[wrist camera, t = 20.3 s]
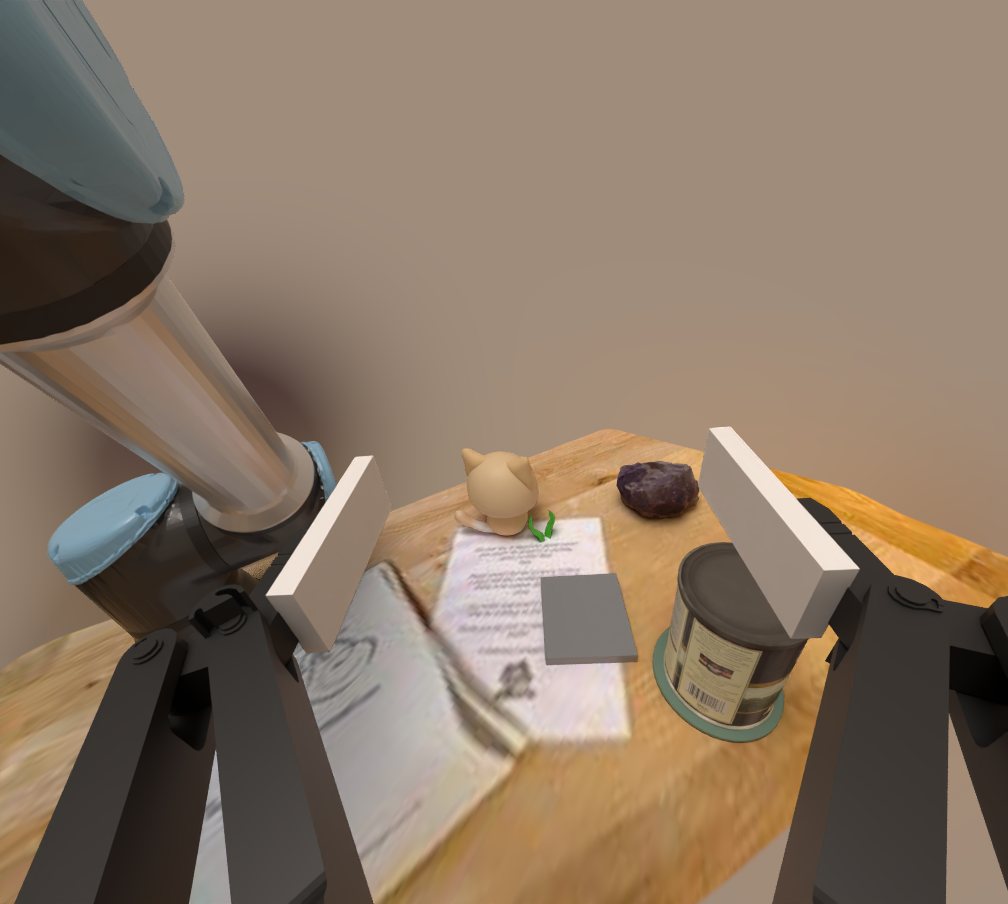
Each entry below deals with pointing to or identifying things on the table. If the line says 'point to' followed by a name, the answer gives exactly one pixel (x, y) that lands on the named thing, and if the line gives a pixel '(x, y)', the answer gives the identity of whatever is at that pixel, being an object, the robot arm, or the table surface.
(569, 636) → the slate tile
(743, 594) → the coffee can
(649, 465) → the rock
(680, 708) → the coaster
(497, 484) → the kitten
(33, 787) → the table surface
